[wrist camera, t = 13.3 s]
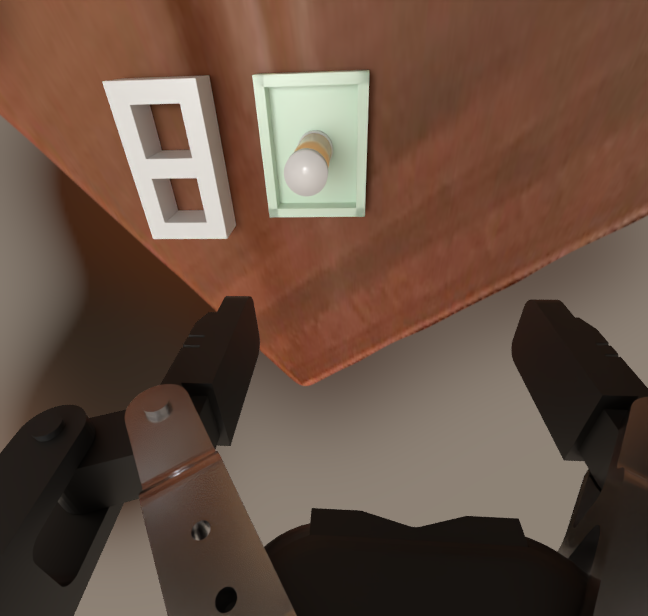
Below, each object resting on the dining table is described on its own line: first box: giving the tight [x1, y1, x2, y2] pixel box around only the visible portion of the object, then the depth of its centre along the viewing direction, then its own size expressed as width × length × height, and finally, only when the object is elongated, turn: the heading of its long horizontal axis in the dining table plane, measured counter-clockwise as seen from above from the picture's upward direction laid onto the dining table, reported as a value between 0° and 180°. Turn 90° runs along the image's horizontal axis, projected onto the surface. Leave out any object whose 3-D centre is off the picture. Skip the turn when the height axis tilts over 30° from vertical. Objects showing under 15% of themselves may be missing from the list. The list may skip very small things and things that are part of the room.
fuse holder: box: [102, 75, 236, 239], centre depth 40 cm, size 16×9×4 cm, turn 2°
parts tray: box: [252, 70, 369, 217], centre depth 39 cm, size 14×11×2 cm
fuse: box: [284, 130, 333, 196], centre depth 36 cm, size 4×4×10 cm
